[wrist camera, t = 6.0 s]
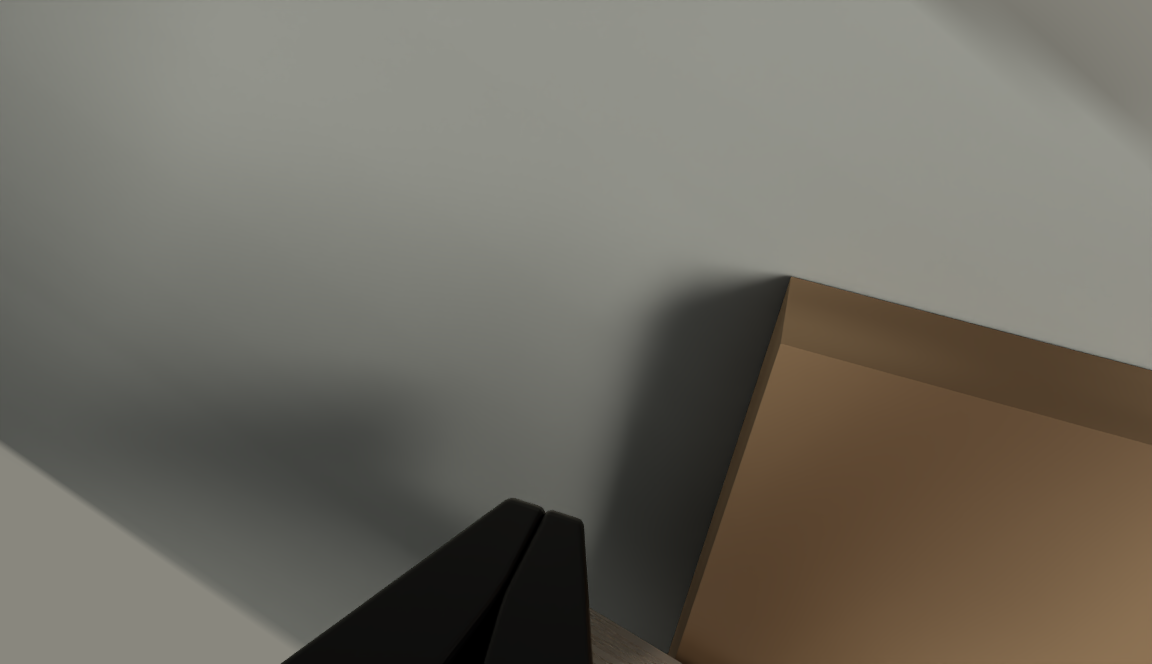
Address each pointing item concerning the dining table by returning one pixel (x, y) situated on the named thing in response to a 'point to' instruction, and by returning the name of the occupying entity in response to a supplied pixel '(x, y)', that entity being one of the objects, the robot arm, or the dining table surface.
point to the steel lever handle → (621, 645)
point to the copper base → (927, 499)
